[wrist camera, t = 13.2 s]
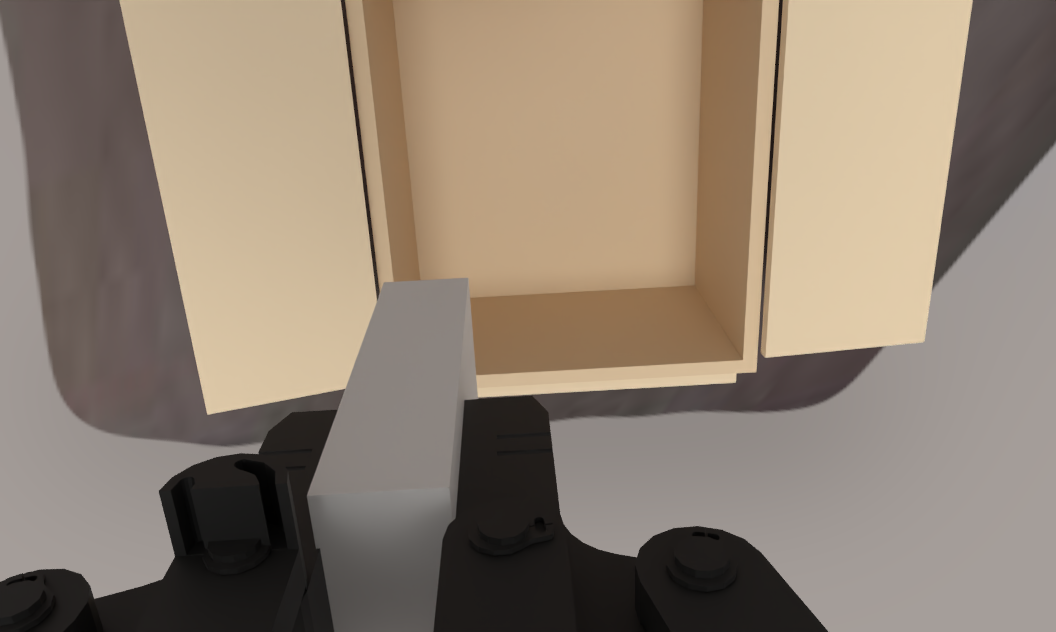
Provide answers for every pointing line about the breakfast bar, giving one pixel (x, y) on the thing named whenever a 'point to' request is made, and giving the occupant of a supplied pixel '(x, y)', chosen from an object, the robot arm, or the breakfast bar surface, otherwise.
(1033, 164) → the breakfast bar surface
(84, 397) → the breakfast bar surface
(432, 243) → the carton
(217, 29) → the flap
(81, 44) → the breakfast bar surface
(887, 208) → the flap
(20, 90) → the breakfast bar surface
